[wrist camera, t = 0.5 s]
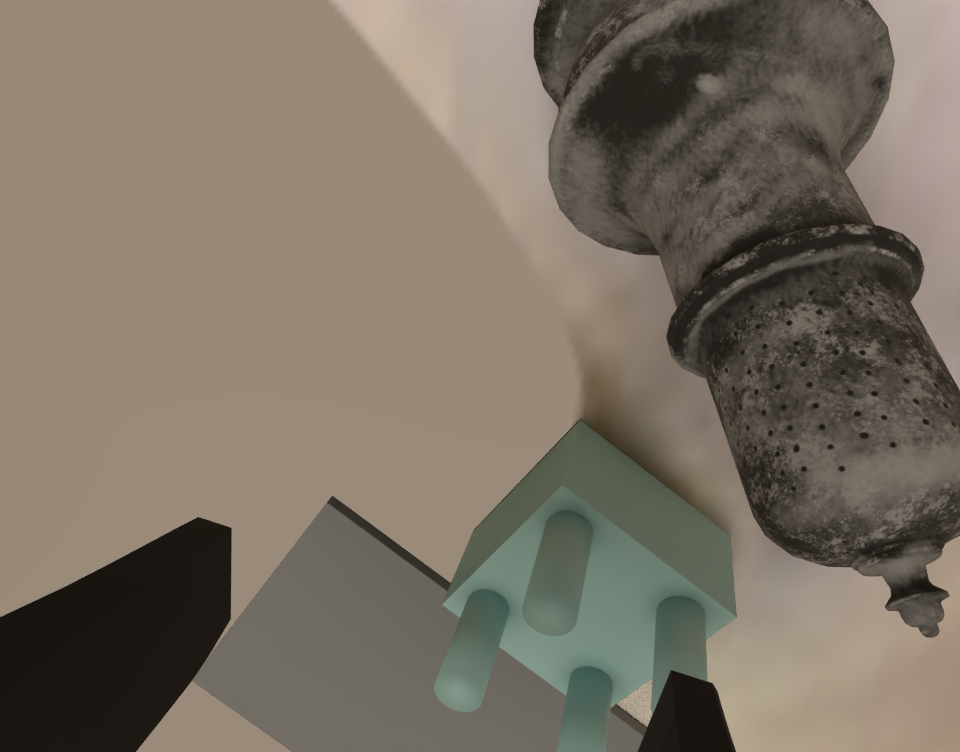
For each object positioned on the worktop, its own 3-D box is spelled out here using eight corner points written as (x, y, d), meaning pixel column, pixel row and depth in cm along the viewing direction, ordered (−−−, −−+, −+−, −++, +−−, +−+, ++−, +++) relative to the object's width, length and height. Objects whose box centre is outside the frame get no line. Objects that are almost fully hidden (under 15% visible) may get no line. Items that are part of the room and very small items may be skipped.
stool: (729, 532, 21) (745, 716, 16) (607, 629, 24) (583, 817, 18) (580, 417, 21) (540, 564, 15) (473, 529, 24) (406, 689, 18)
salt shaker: (749, 137, 18) (1000, 664, 11) (505, 146, 17) (624, 711, 10) (873, -143, 13) (1453, 513, 6) (537, -146, 12) (795, 584, 6)
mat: (662, 739, 25) (662, 750, 25) (469, 866, 31) (466, 875, 31) (332, 495, 24) (326, 502, 24) (196, 672, 30) (190, 679, 30)
